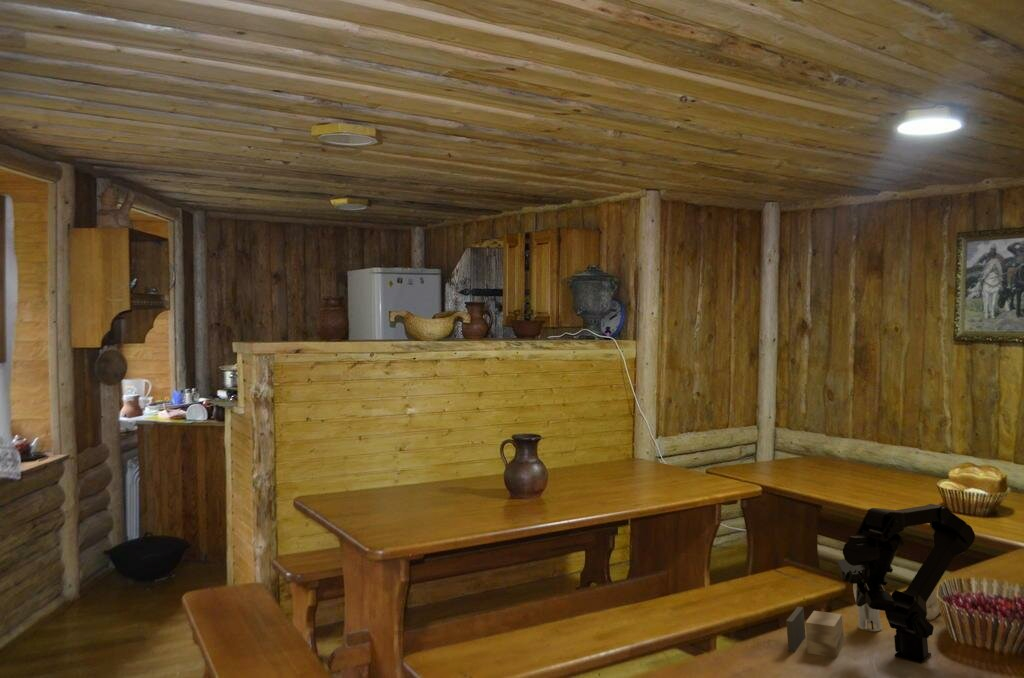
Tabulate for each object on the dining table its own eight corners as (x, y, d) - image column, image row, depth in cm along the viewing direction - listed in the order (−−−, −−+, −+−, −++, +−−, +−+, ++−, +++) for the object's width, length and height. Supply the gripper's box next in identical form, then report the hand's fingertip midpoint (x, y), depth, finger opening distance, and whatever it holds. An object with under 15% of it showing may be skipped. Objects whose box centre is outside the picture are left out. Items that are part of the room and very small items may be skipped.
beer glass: (888, 627, 206) (884, 573, 207) (875, 634, 203) (870, 578, 203) (864, 621, 212) (860, 568, 213) (850, 627, 208) (846, 573, 209)
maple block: (844, 644, 197) (841, 614, 198) (836, 658, 190) (834, 626, 190) (816, 640, 201) (814, 610, 202) (807, 653, 193) (805, 622, 194)
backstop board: (805, 636, 204) (803, 607, 204) (794, 652, 194) (792, 621, 194) (799, 635, 205) (797, 606, 205) (788, 651, 195) (786, 620, 195)
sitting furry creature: (902, 610, 219) (898, 569, 219) (923, 605, 222) (920, 564, 222) (930, 620, 210) (927, 577, 210) (952, 615, 213) (949, 572, 213)
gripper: (835, 529, 195) (816, 575, 202) (860, 579, 178) (839, 627, 185) (877, 535, 195) (857, 581, 202) (907, 586, 178) (884, 634, 185)
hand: (858, 605), depth 193 cm, fingers closed
